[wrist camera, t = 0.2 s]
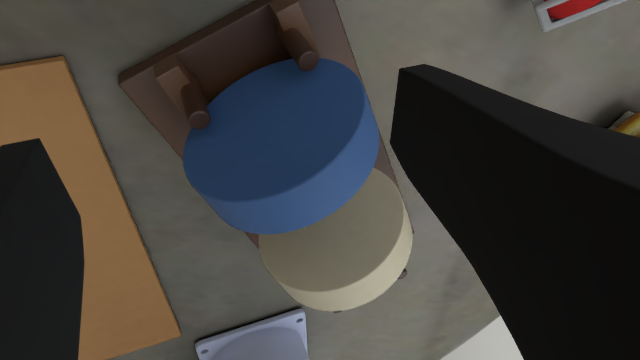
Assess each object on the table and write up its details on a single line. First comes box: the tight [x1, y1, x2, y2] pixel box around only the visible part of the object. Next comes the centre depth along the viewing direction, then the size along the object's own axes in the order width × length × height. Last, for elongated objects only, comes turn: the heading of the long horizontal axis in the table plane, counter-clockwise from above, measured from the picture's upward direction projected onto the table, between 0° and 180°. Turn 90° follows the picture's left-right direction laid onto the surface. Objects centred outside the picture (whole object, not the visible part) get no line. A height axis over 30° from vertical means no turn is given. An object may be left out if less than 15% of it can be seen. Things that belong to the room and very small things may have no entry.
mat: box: [0, 56, 182, 360], centre depth 22 cm, size 20×11×1 cm, turn 179°
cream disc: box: [259, 168, 413, 311], centre depth 21 cm, size 2×7×7 cm, turn 109°
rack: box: [118, 0, 414, 313], centre depth 23 cm, size 19×9×4 cm, turn 19°
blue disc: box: [183, 58, 379, 234], centre depth 17 cm, size 2×7×7 cm, turn 109°
